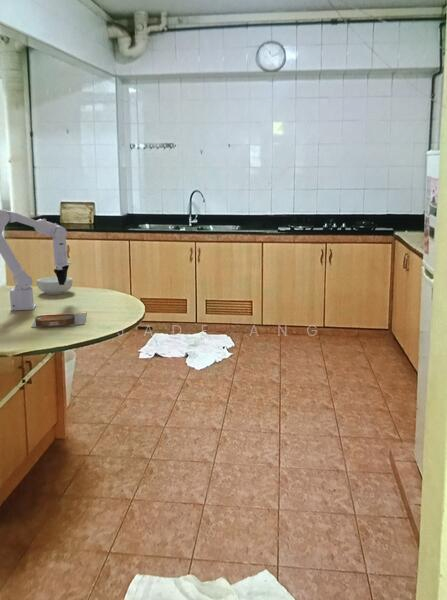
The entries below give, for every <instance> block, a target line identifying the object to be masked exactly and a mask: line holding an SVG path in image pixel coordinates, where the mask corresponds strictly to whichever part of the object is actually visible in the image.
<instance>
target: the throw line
mask: <svg viewBox="0 0 447 600" xmlns="http://www.w3.org/2000/svg"><path fill="white" fill-rule="evenodd" d="M76 313H77V312H65V313H63V314H76ZM81 313H87V314H88V312H85V311H83V312H81ZM55 314H56V313H47V314H44V315H55Z"/></svg>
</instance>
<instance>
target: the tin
mask: <svg viewBox="0 0 447 600" xmlns="http://www.w3.org/2000/svg"><path fill="white" fill-rule="evenodd" d="M54 314H55V315H45V314H41V315H42V316H38V315H37V316H38V317H37V316H36V317H35V318H34V321H35V322H36V325H37V326H55V327H64V326H63V325H70V324H73V323H74V322H75V316H74V315H72V314H64V313H54Z"/></svg>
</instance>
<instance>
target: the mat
mask: <svg viewBox="0 0 447 600" xmlns="http://www.w3.org/2000/svg"><path fill="white" fill-rule="evenodd" d="M75 313H76V314H72V315H74V316H75V322H74V323H73V324H70V325H63V326H62V327H70V326H71V327H73V326H85V323H86V319H87V314H88V312H87V313H82V312H75ZM42 315H43V314H37V315H36V317H38V316H42ZM54 327H56V326H37V325H36V322H35V320H33V322H32V325H31V327H30V328H32V329H34V328H35V329H36V328H38V329H39V328H54Z"/></svg>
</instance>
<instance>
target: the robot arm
mask: <svg viewBox="0 0 447 600" xmlns="http://www.w3.org/2000/svg"><path fill="white" fill-rule="evenodd" d="M15 222H16V223H17V222H18V223H20V224H23V225H26V226H29V227H32V228H34V230H35V232H38V233H41V234H43V235H46V236H49V237H52V248H53V260H54V262H53V264H54V266H56V267H55V269H53V272H54V274H55V275H56V276H55V277H57V279H58V282H59V285H64V284H65V282H66V278H67V277H68V276H67V275H68V270H69V267H70V265H71V262H70V261H68V258H69V257H68V248H67V245H68V244H67V236H68V231H67V229H66V228H65V227H64V226H62V225H59V224H58V223H56V222H54V223H53V222H51V221H47V218H42V219H41V218H39V219H36V220H35V219H33V218H30V217H28V216H26V215H22V214H20V213H17V212H15V211H11V210H4V209H1V208H0V256H1V257H2V259H3V260H4V262H5V263H6V265H7V266H8V268H9V270H10V272H11V274H12V276H13V281H14V283H15V287H14V288H11V289H10V290H9V300H10V311H25V310H26V311H28V310H34V309H35V308H36V306H37V304H35V303H34V292H33V291H34V290H33V277H32V276H30V275H29V274H28V273H26V271H25V270H24V268H23V267H22V265H21V263H20V262H19V260H18V258H17V257H16V255H15V254H14V252H13V251H12V248H11V247H10V245H9V244H8V241H7V240H6V239H5V237H4V236H3V231H4V229H5V227H6V225H8V223H11V224H12V223H15Z"/></svg>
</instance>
